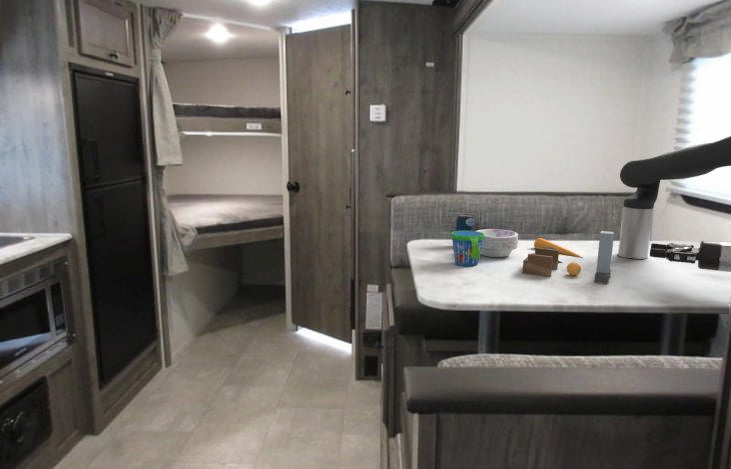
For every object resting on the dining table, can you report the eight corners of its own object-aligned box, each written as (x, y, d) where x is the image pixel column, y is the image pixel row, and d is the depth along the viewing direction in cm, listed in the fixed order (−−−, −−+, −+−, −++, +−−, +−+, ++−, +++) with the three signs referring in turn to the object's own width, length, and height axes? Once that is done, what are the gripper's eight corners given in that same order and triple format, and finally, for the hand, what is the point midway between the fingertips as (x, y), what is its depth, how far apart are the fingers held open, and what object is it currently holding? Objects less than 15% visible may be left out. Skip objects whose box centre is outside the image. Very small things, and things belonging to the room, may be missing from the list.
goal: (530, 265, 164) (532, 246, 163) (557, 268, 160) (559, 250, 159) (522, 273, 155) (523, 253, 154) (550, 277, 151) (552, 257, 150)
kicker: (597, 275, 154) (602, 229, 151) (610, 276, 152) (615, 230, 149) (594, 282, 146) (599, 234, 143) (607, 284, 144) (612, 235, 142)
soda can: (475, 249, 187) (477, 216, 184) (456, 248, 187) (458, 216, 184) (472, 245, 193) (473, 213, 191) (453, 244, 193) (455, 213, 191)
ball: (567, 272, 156) (568, 260, 155) (581, 274, 154) (582, 261, 153) (565, 275, 152) (566, 262, 151) (579, 277, 150) (580, 264, 149)
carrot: (532, 250, 190) (531, 240, 188) (539, 244, 192) (539, 234, 190) (581, 267, 175) (581, 256, 172) (589, 260, 177) (588, 249, 174)
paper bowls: (464, 254, 178) (465, 232, 176) (484, 247, 189) (485, 226, 188) (505, 262, 168) (506, 238, 167) (524, 254, 179) (525, 232, 178)
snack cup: (445, 258, 173) (446, 228, 171) (476, 258, 173) (478, 228, 171) (455, 270, 157) (456, 237, 155) (488, 270, 158) (490, 238, 156)
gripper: (720, 238, 139) (652, 232, 147) (725, 247, 127) (651, 240, 135) (716, 265, 140) (649, 258, 148) (721, 276, 128) (648, 268, 136)
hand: (650, 249), depth 141 cm, fingers open, 8 cm apart
